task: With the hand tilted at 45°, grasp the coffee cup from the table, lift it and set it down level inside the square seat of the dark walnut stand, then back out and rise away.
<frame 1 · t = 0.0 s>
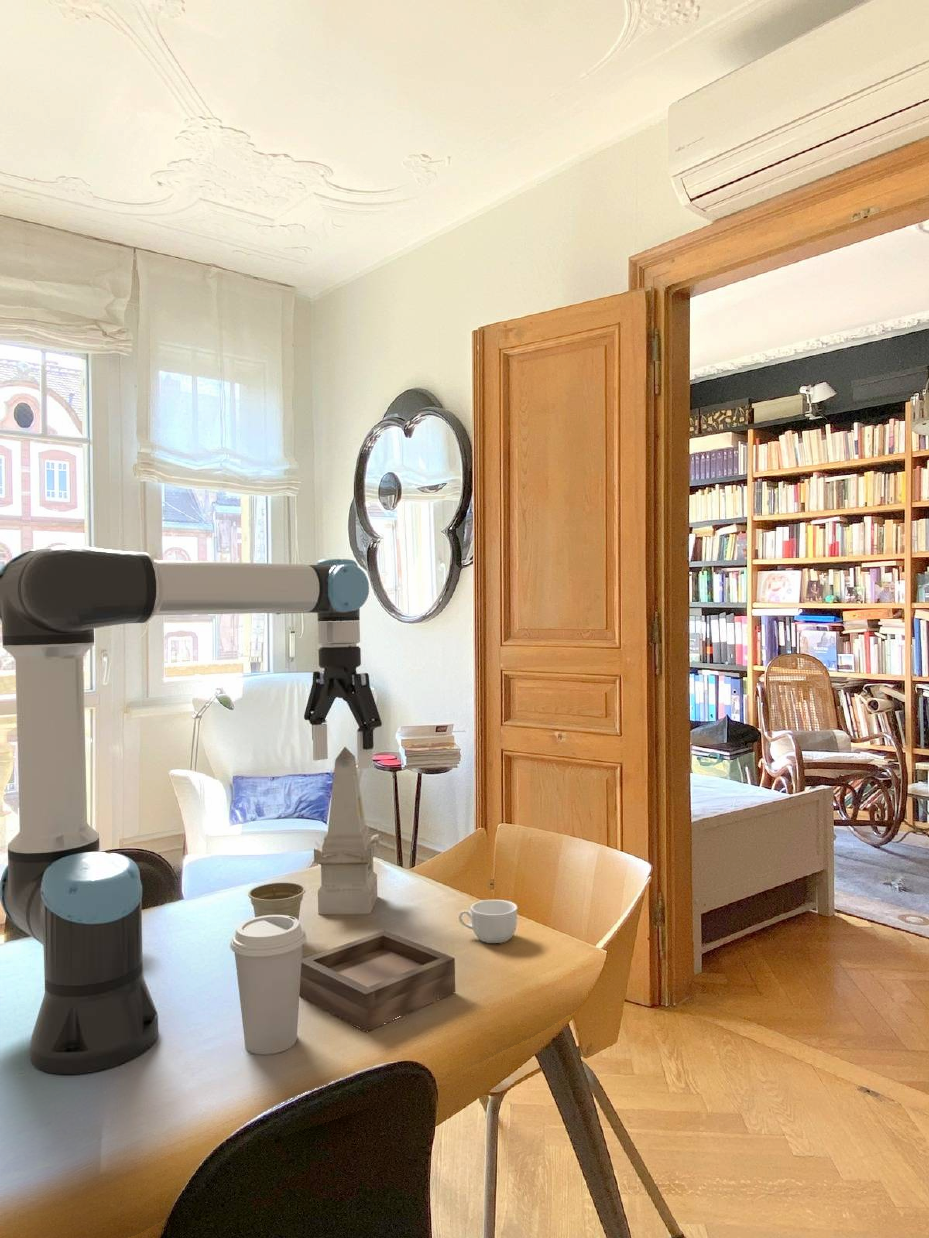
hand: (342, 763, 154), 28 cm above the table, tool pointing down, fingers open, 13 cm apart
walnut stand: (376, 993, 123), on the table
teacup: (488, 939, 143), on the table
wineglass: (124, 948, 143), on the table
coffee cup: (271, 1043, 110), on the table
flower pot: (278, 942, 144), on the table
miniature monument: (348, 906, 162), on the table
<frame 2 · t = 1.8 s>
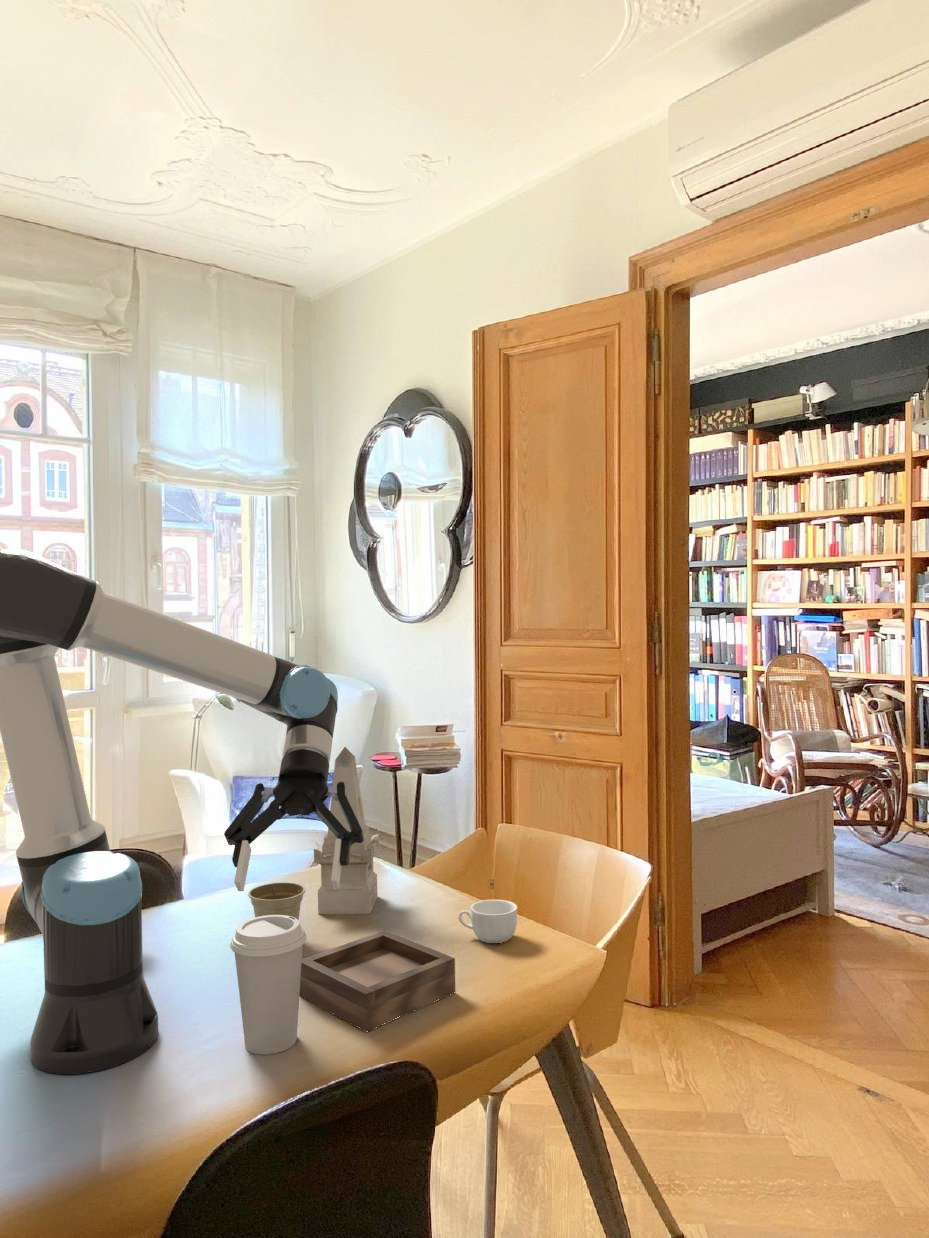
hand: (286, 885, 121), 17 cm above the table, tool tilted 45°, fingers open, 13 cm apart
nothing on the table moved.
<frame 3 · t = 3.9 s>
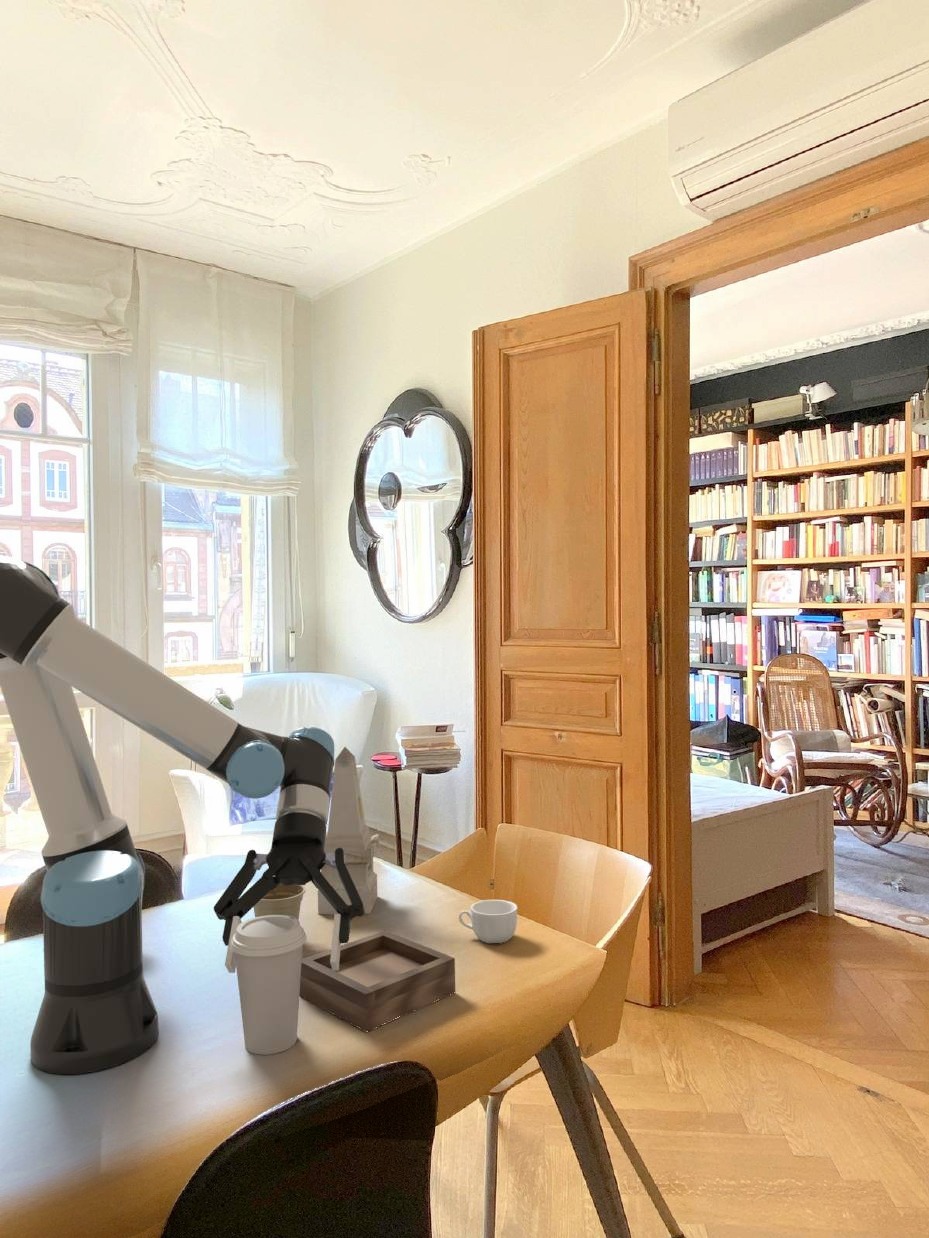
hand: (282, 967, 111), 9 cm above the table, tool tilted 45°, fingers open, 13 cm apart
nothing on the table moved.
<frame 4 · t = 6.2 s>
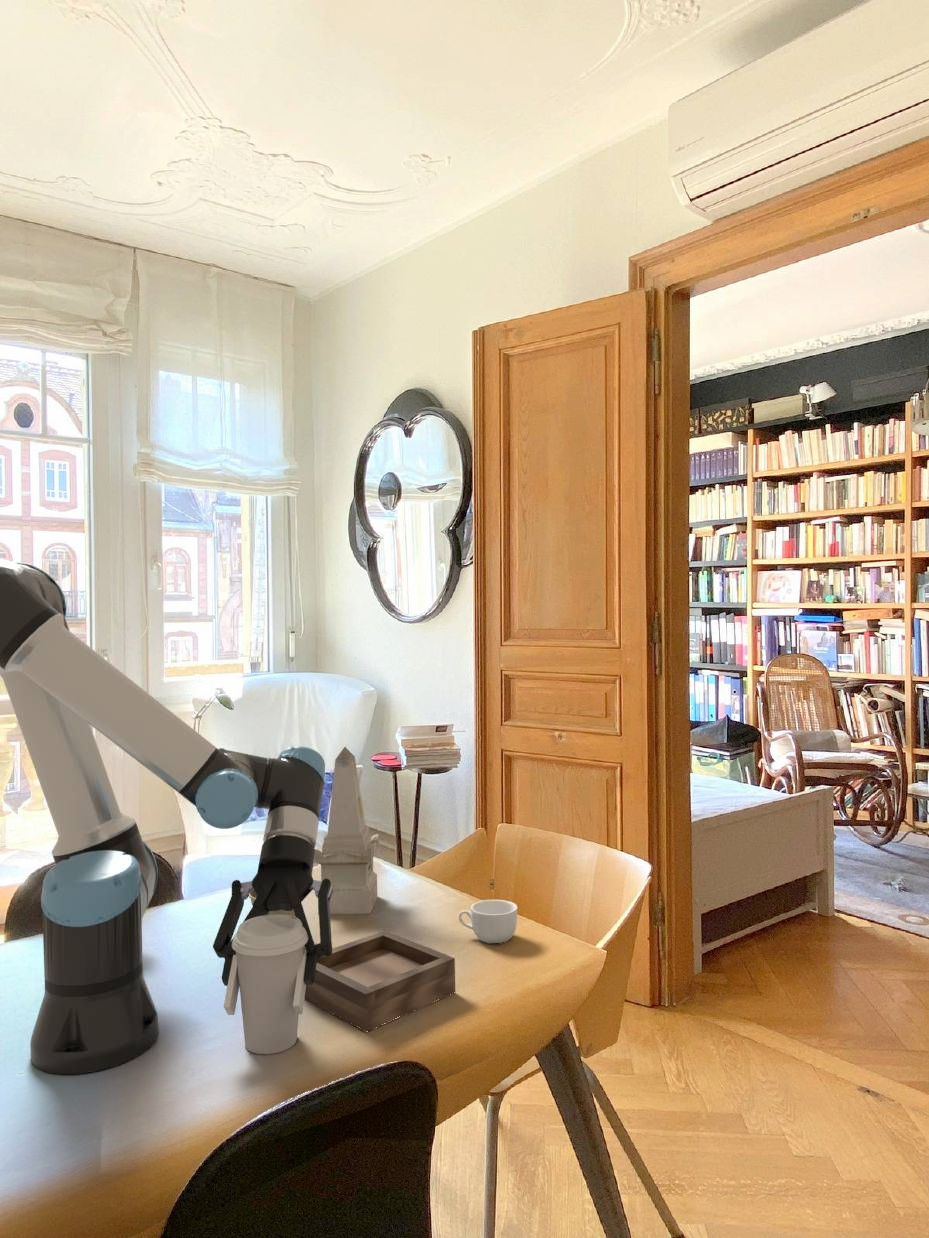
hand: (263, 1010, 107), 6 cm above the table, tool tilted 45°, fingers closed on coffee cup, 8 cm apart
coffee cup: (271, 1042, 110), on the table, touching gripper
everything else where it was.
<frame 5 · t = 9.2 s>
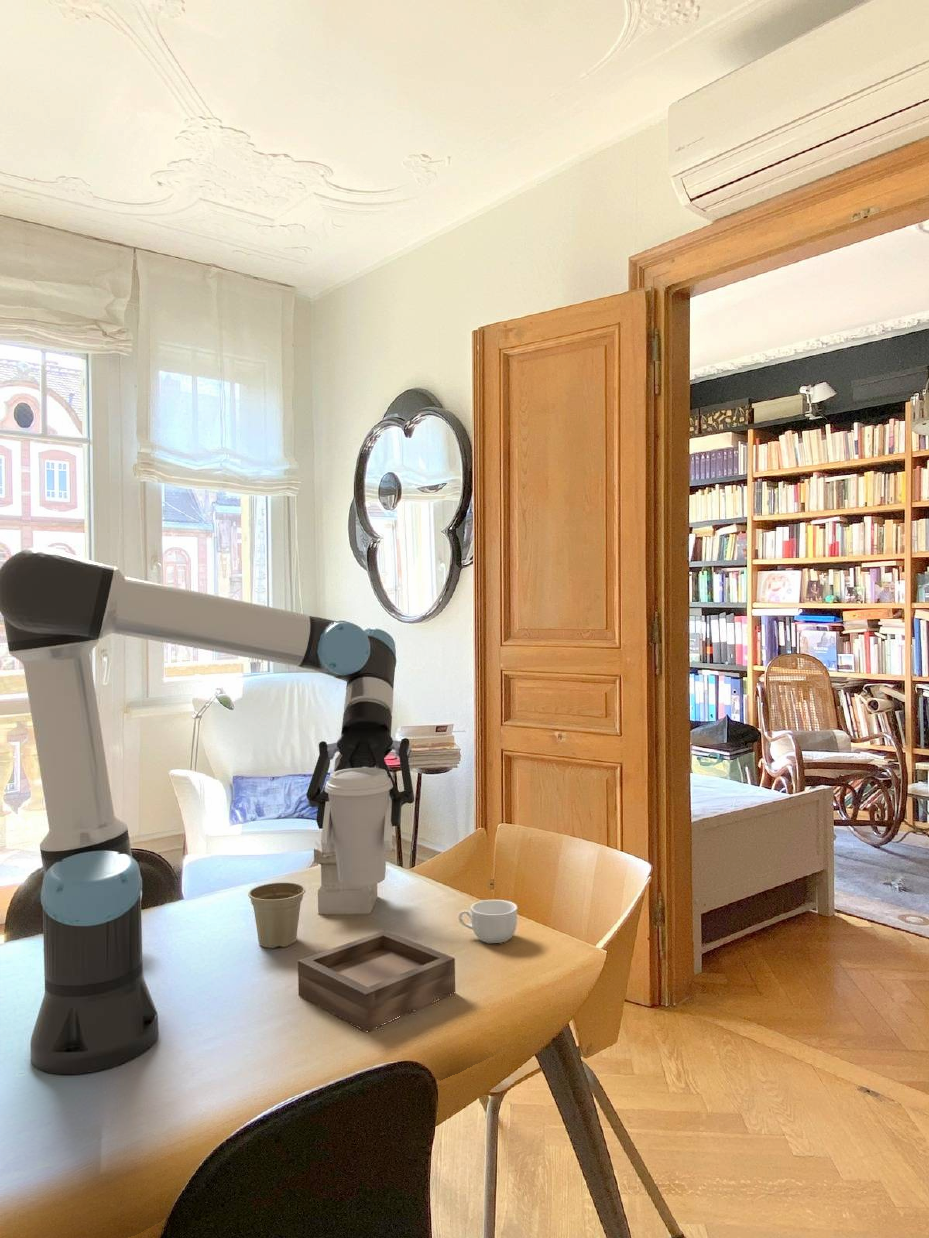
hand: (356, 846, 117), 23 cm above the table, tool tilted 45°, fingers closed on coffee cup, 8 cm apart
coffee cup: (362, 880, 121), point 17 cm above the table, touching gripper
everything else where it was.
when the fingers open (10 cm above the table, at t = 12.4 s): coffee cup drops 1 cm, resting on walnut stand.
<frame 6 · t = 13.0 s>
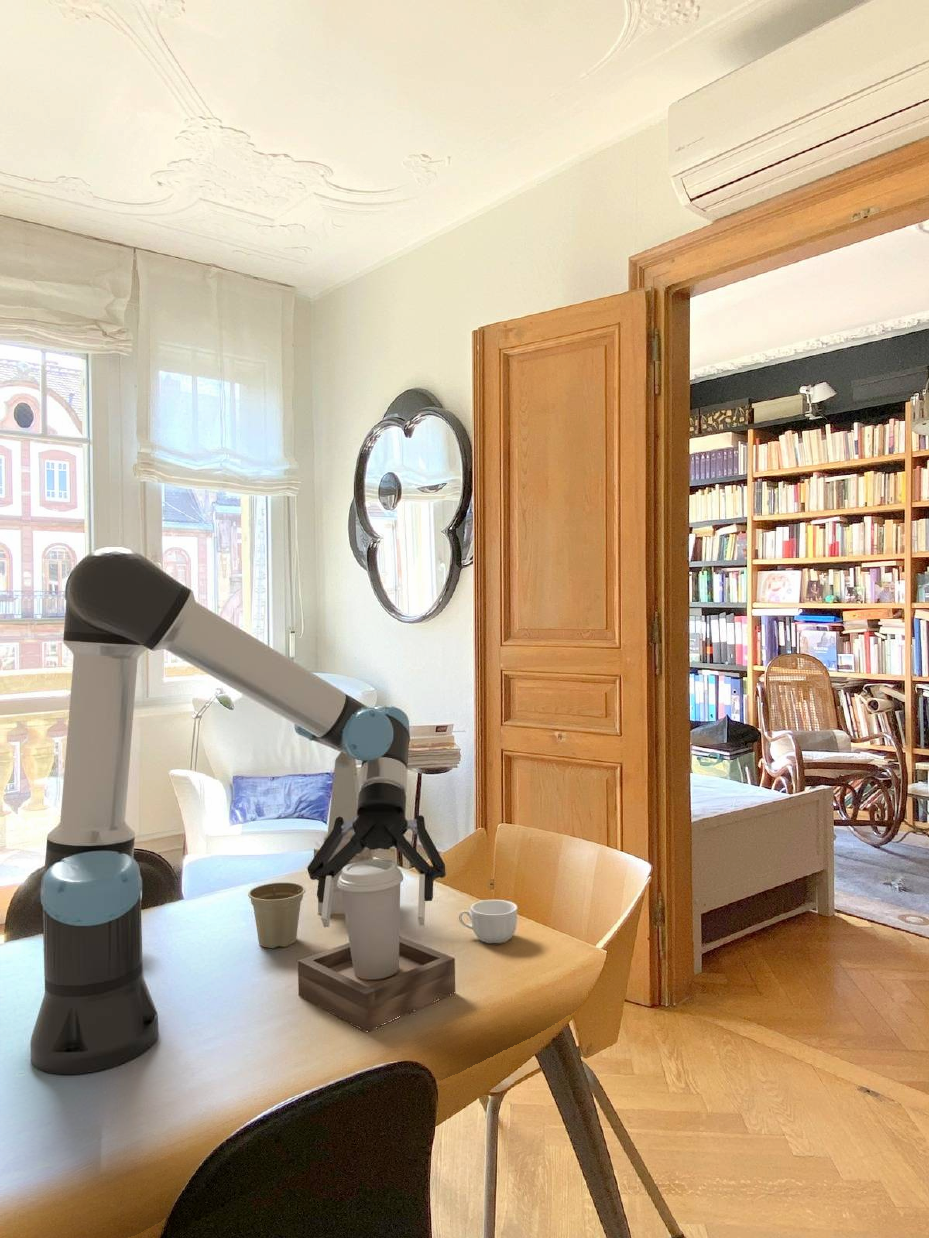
hand: (373, 922, 121), 11 cm above the table, tool tilted 45°, fingers open, 13 cm apart
coffee cup: (376, 971, 124), point 3 cm above the table, touching walnut stand
everything else where it was.
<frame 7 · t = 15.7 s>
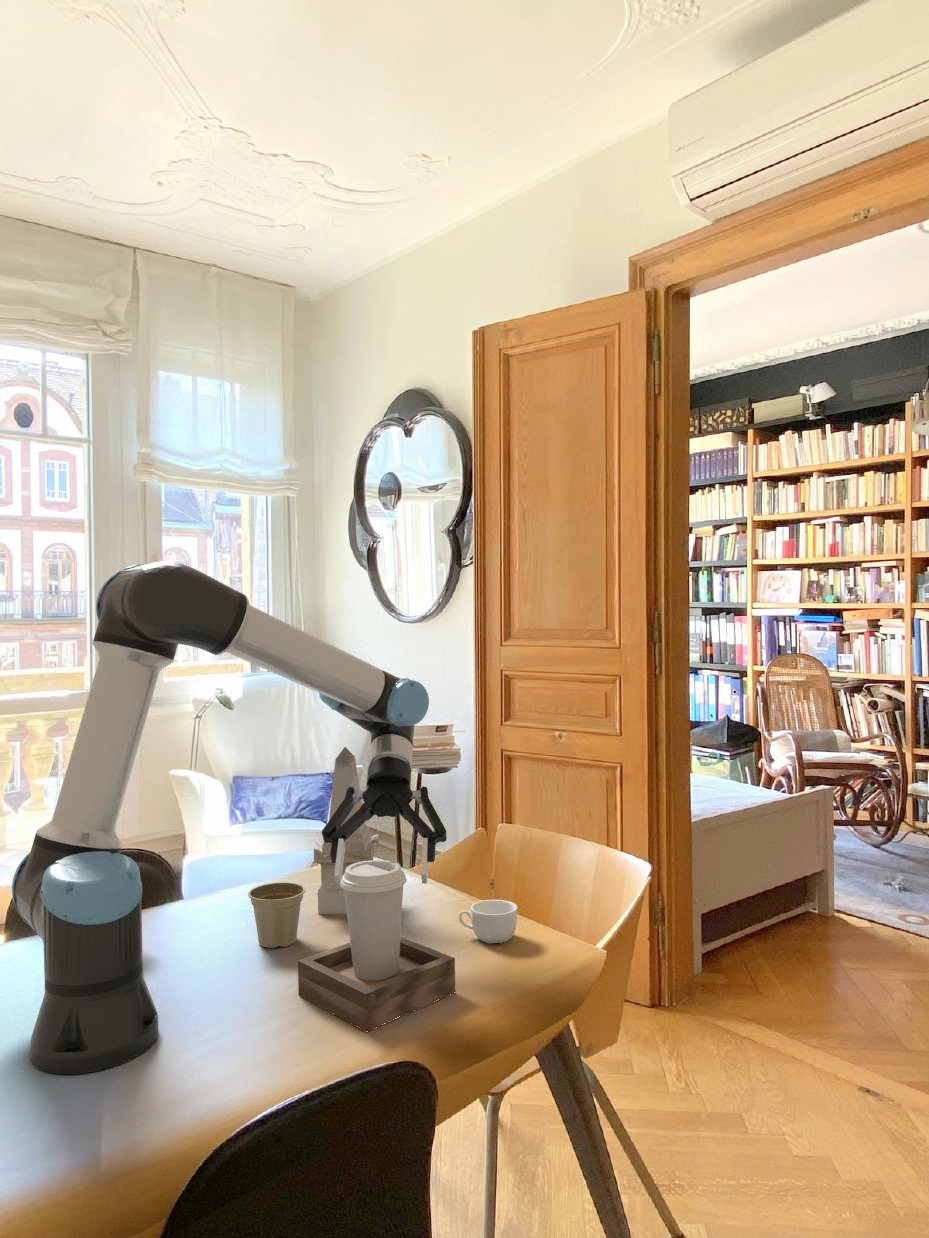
hand: (380, 879, 134), 13 cm above the table, tool tilted 45°, fingers open, 13 cm apart
nothing on the table moved.
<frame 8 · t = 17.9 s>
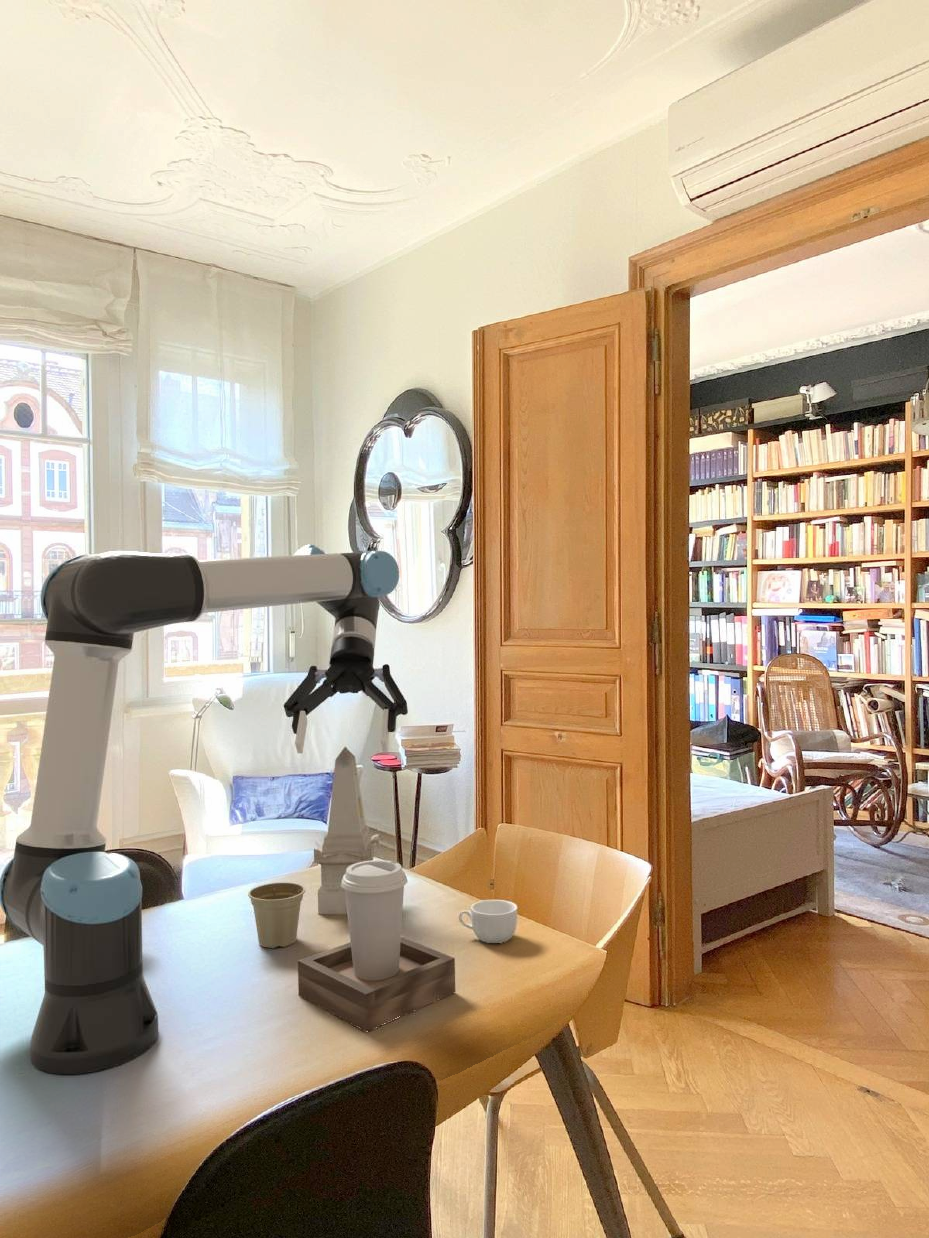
hand: (341, 747, 136), 34 cm above the table, tool tilted 45°, fingers open, 13 cm apart
nothing on the table moved.
at the end: coffee cup 0.6 cm off-centre on the walnut stand, point 2.8 cm above the walnut stand's base; coffee cup tilted 0°; the gripper is holding nothing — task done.
